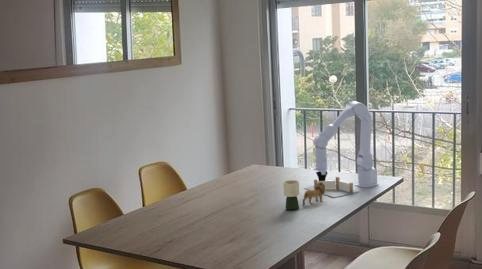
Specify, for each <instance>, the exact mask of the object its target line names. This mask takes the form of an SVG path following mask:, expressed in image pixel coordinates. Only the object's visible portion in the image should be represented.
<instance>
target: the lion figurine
mask: <svg viewBox="0 0 482 269" xmlns="http://www.w3.org/2000/svg"><path fill="white" fill-rule="evenodd" d="M324 192H325V185H324V183H322V182H319V183H318V184H317V187H316V189H315V190H306V191H304V194H303V199H302V206H305V205H306V200H307V199H308V203H309V204H310V205H311V206H313V205H314V203H313V202H312V199H313V198H315V202H320V203H323V202H324V201H323V196H324V195H323V194H324Z"/></svg>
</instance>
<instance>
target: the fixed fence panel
mask: <svg viewBox="0 0 482 269" xmlns="http://www.w3.org/2000/svg"><path fill="white" fill-rule="evenodd" d="M335 185H336V189H340V190H344V191H347V192H350V193H353V190H354V183H353V182H347V181H344V180H341V178H340V176H335Z"/></svg>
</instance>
